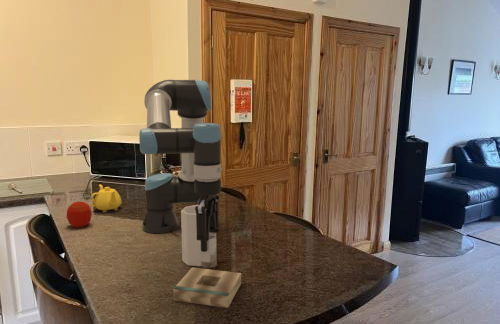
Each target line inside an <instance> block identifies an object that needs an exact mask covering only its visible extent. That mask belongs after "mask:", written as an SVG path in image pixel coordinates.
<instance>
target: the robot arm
mask: <svg viewBox="0 0 500 324" xmlns="http://www.w3.org/2000/svg"><path fill="white" fill-rule="evenodd" d="M143 103H144V107H145V109H146V128H141V129H140V130H139V133H138V134H139V135H138V137H139V138H138V139H139V141H138V142H139V152H141V154H142V155H153V156H155V155H167V154H168V155H169V154H170V155H171V154H173V155H174V154H175V155H176V154H181V170H180V171H178V172H177V176H174V174H173V173H171V172H168V173H167V172H163V173H156V174H153V175H150V176H149V177H146V179H145V182H144V183H145V184H144V190H145V193H144V194H145V214H144V218H143V221H142V225H141V226H142V230H143V232H145V233H149V234H163V233H164V234H165V233H170V232H173V231H175V230H177V229H178V228H179V220H178V218H177V215H176V212H175V210H174V205H177V204H179V205H180V204H190V203H191V204H197V203H198V205H199V206H196V207H195V210H196V227H197V240H200V261H203V262H210V239H209V235H210V236H215V237H216V238H217V233H220V229H219V223H220V221H219V219H220V217H219V216H220V215H219V214H220V212H219V209H220V208H219V203H220V195H219V194H220V193H221V192H222V180H221V177H222V171H223V167H222V164H221V163H222V160H221V157H222V156H221V153H222V147H221V146H222V145H221V144H222V143H221V142H222V134H221V130H222V129H221V125H220V124H218V123H212V122H207V123H206V122H204V119H205V118H206V117H207V116H208V112H210V111H211V110H212V97H211V92H210V85H209V83H208V82H207V81H205V80H199V79H166V80H165V79H163V80H161V81H158V82H156V83H154V84H153V85H151V87H150V88H149V89H148V90H147V91H146V92H145V95H144V102H143ZM171 111H175V112H176V111H177V116H178V117H179V118H181V127H179V128H178V127H172V123H171V121H172V119H171V113H170V112H171Z"/></svg>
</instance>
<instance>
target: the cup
mask: <svg viewBox="0 0 500 324" xmlns="http://www.w3.org/2000/svg"><path fill="white" fill-rule="evenodd" d="M196 206H199V204H195V205H189V206H185V207H184V208H183V209H181V211H180V218H181V219H180V220H181V224H180V227H181V260H182V262H183V263H184V264H185V265H187V266H189V267H190V266H191V267H202V266H201V261H200V240H197V227H196V210H195V207H196Z"/></svg>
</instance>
